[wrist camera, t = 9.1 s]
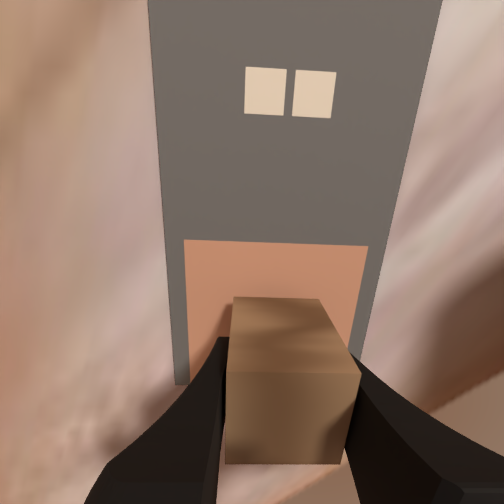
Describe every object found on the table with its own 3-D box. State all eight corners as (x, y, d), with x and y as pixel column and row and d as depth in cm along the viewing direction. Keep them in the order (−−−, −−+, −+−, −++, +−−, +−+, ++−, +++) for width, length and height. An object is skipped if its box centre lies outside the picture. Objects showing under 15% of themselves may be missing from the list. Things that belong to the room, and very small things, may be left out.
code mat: (446, -38, 10) (453, -46, 9) (351, 383, 17) (353, 387, 16) (146, -63, 9) (142, -72, 9) (176, 380, 16) (175, 385, 16)
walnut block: (318, 298, 13) (361, 373, 8) (308, 366, 14) (340, 464, 9) (233, 296, 13) (226, 371, 8) (232, 365, 14) (224, 464, 9)
